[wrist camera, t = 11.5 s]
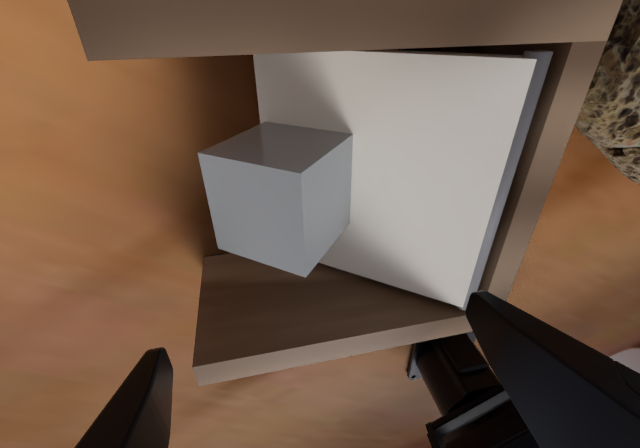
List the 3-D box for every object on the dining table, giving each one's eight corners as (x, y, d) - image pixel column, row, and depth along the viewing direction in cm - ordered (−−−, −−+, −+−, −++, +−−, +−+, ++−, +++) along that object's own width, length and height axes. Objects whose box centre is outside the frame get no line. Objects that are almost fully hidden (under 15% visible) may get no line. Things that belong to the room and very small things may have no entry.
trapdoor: (473, 301, 19) (471, 313, 18) (281, 242, 24) (273, 250, 23) (552, 50, 12) (554, 53, 12) (263, 40, 17) (251, 41, 16)
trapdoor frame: (426, 242, 27) (496, 326, 20) (207, 274, 24) (198, 386, 17) (473, -6, 18) (627, -12, 11) (140, -3, 15) (64, -8, 8)
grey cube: (349, 223, 19) (305, 277, 15) (273, 204, 21) (218, 248, 17) (353, 133, 16) (300, 173, 13) (265, 121, 18) (197, 152, 15)
